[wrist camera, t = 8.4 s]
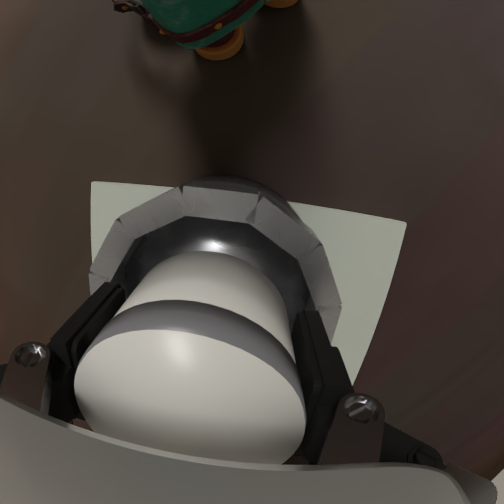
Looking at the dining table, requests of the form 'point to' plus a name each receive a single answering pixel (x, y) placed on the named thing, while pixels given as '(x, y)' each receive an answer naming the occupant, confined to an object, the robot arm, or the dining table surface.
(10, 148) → the dining table surface
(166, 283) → the cap
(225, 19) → the binoculars
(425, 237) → the dining table surface
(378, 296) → the mat
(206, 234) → the grey ring
